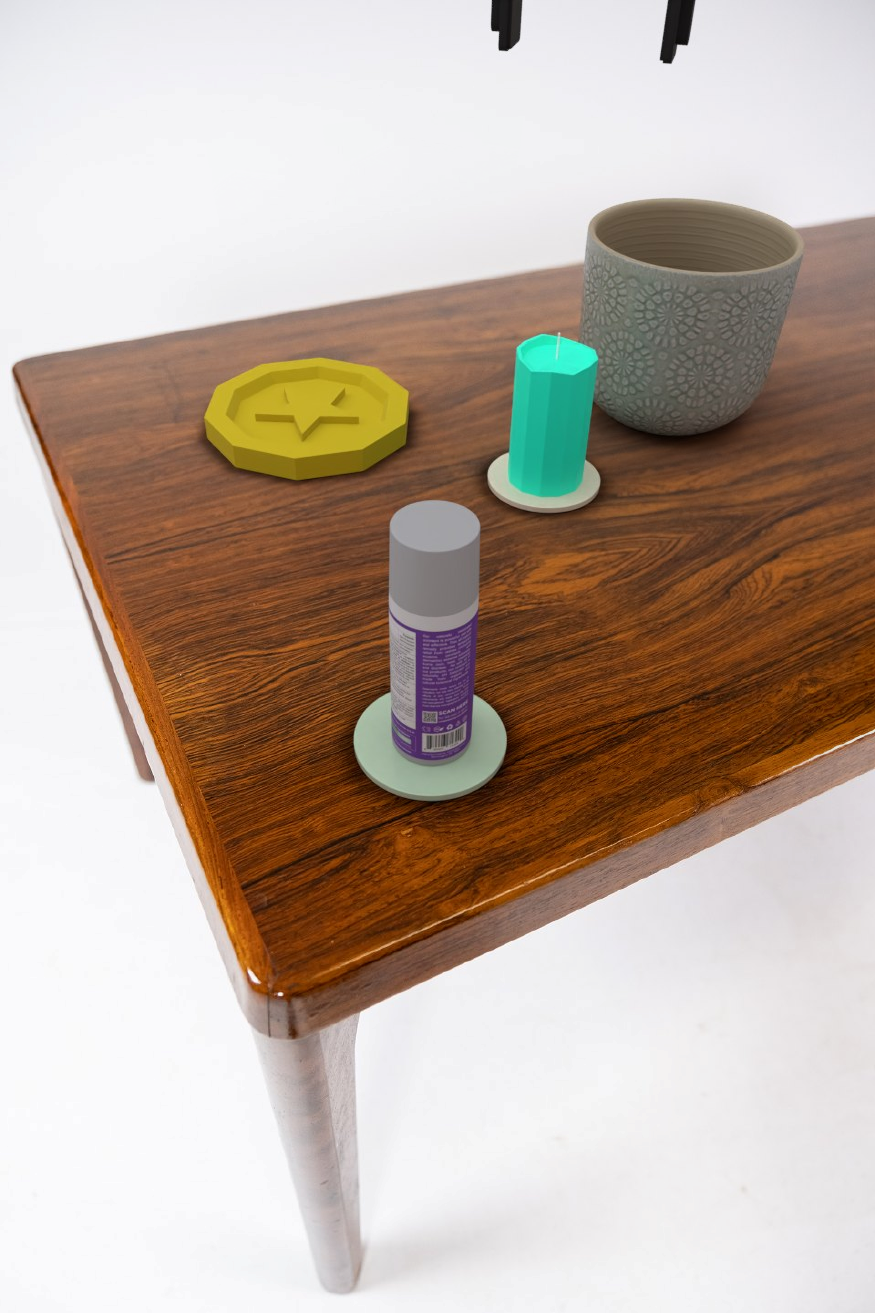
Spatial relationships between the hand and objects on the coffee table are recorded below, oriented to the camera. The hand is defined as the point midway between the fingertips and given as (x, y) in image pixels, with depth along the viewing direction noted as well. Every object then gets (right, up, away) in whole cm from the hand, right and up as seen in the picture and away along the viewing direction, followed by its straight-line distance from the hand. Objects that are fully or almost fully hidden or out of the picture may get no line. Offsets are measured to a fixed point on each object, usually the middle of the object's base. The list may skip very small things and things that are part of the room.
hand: (587, 52), depth 61 cm
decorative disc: (-20, -17, +26) cm, 37 cm away
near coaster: (-9, -41, -1) cm, 43 cm away
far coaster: (0, -22, +20) cm, 30 cm away
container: (-9, -41, -1) cm, 42 cm away
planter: (+11, -14, +30) cm, 35 cm away
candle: (0, -22, +20) cm, 30 cm away
